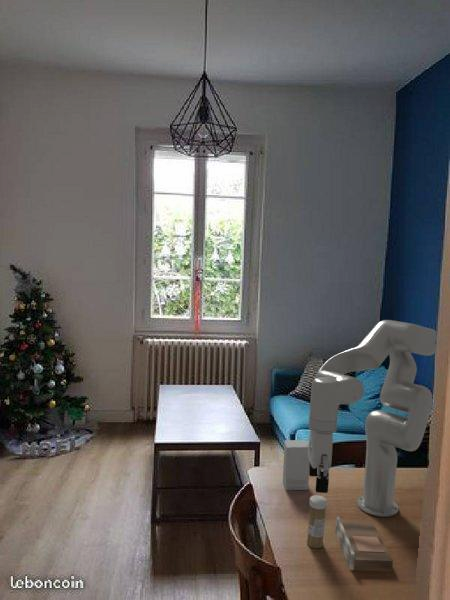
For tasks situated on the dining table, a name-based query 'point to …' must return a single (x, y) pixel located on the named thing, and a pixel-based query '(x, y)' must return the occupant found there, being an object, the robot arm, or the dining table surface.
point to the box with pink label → (363, 546)
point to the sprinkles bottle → (316, 521)
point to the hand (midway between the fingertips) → (318, 483)
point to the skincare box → (296, 465)
